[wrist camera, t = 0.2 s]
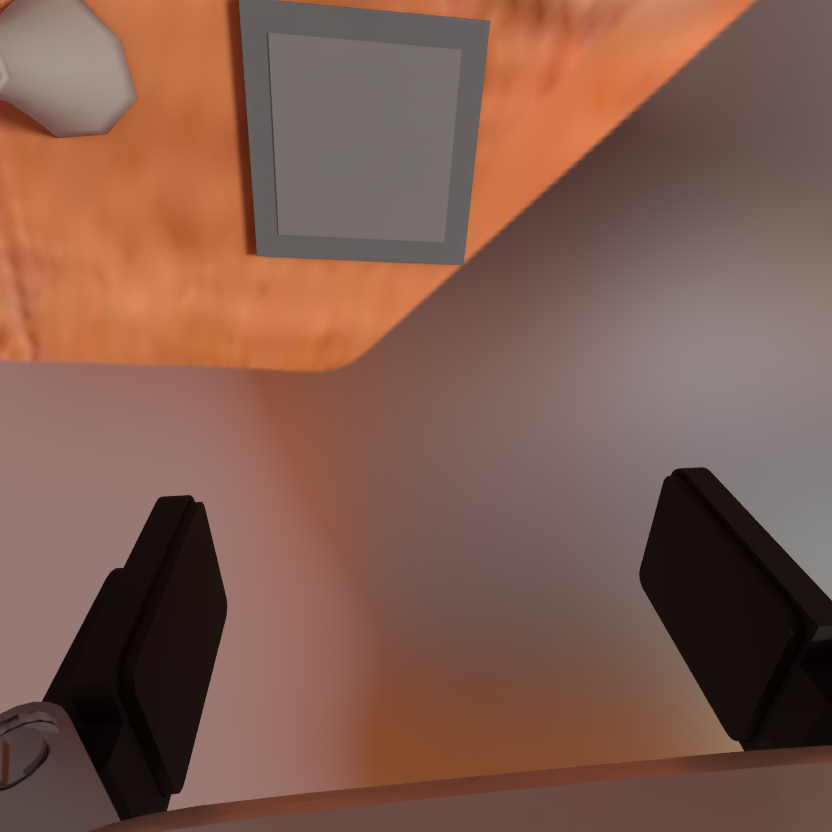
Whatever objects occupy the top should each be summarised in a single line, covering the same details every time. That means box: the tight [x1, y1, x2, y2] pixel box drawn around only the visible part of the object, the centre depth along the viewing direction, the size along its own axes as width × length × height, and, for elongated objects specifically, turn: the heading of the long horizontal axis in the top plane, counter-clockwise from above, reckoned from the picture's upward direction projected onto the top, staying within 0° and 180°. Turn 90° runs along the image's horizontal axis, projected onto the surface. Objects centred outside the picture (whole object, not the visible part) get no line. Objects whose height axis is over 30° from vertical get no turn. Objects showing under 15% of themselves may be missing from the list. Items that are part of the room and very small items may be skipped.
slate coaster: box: [239, 0, 490, 265], centre depth 35 cm, size 14×14×1 cm
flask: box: [0, 0, 137, 138], centre depth 28 cm, size 7×7×10 cm
